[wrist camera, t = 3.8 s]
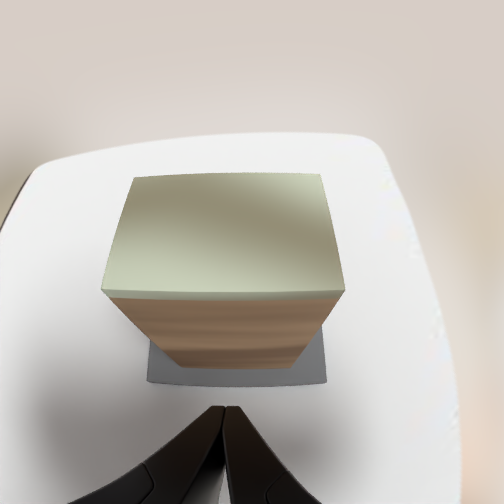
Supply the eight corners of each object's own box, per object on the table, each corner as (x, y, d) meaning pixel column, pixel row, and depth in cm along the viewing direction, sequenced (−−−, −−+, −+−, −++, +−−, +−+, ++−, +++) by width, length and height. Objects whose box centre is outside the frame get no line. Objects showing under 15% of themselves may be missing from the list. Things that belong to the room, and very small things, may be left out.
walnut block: (290, 367, 15) (345, 289, 7) (181, 367, 15) (100, 289, 7) (286, 302, 17) (320, 174, 9) (186, 302, 17) (134, 177, 9)
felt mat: (324, 383, 15) (326, 382, 15) (149, 382, 15) (146, 380, 14) (300, 188, 23) (300, 184, 23) (177, 189, 23) (176, 185, 23)
